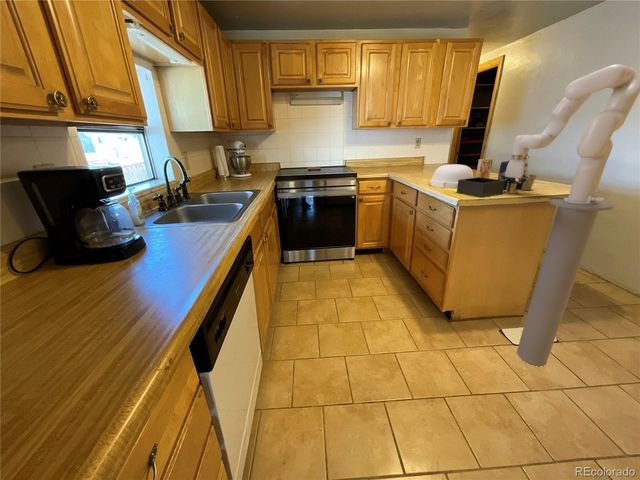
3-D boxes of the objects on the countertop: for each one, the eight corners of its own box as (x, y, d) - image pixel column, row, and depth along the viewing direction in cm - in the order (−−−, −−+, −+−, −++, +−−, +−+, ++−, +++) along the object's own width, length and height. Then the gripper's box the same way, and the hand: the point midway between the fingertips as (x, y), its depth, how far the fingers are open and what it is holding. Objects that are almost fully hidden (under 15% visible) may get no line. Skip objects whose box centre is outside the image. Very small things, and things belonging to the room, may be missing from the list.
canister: (497, 189, 170) (503, 160, 163) (494, 187, 178) (499, 159, 171) (515, 190, 166) (521, 160, 160) (511, 187, 174) (517, 159, 168)
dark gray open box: (502, 193, 158) (505, 180, 155) (481, 197, 152) (483, 183, 150) (476, 189, 174) (478, 177, 171) (456, 192, 168) (458, 179, 165)
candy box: (486, 178, 212) (489, 158, 207) (489, 179, 208) (493, 158, 203) (475, 178, 212) (478, 159, 207) (478, 179, 208) (481, 159, 203)
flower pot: (531, 191, 161) (535, 177, 158) (513, 189, 168) (516, 176, 165) (535, 189, 167) (539, 175, 164) (517, 187, 173) (520, 174, 170)
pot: (521, 192, 159) (524, 180, 156) (513, 194, 156) (516, 181, 154) (509, 191, 164) (512, 179, 162) (502, 192, 162) (504, 180, 160)
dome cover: (440, 180, 215) (442, 162, 210) (480, 182, 195) (484, 163, 190) (422, 185, 195) (423, 166, 190) (465, 189, 174) (469, 167, 169)
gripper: (539, 158, 147) (532, 190, 153) (508, 156, 162) (502, 186, 168) (530, 158, 144) (523, 191, 151) (500, 157, 160) (494, 187, 166)
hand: (512, 188), depth 159 cm, fingers closed on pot, 6 cm apart
